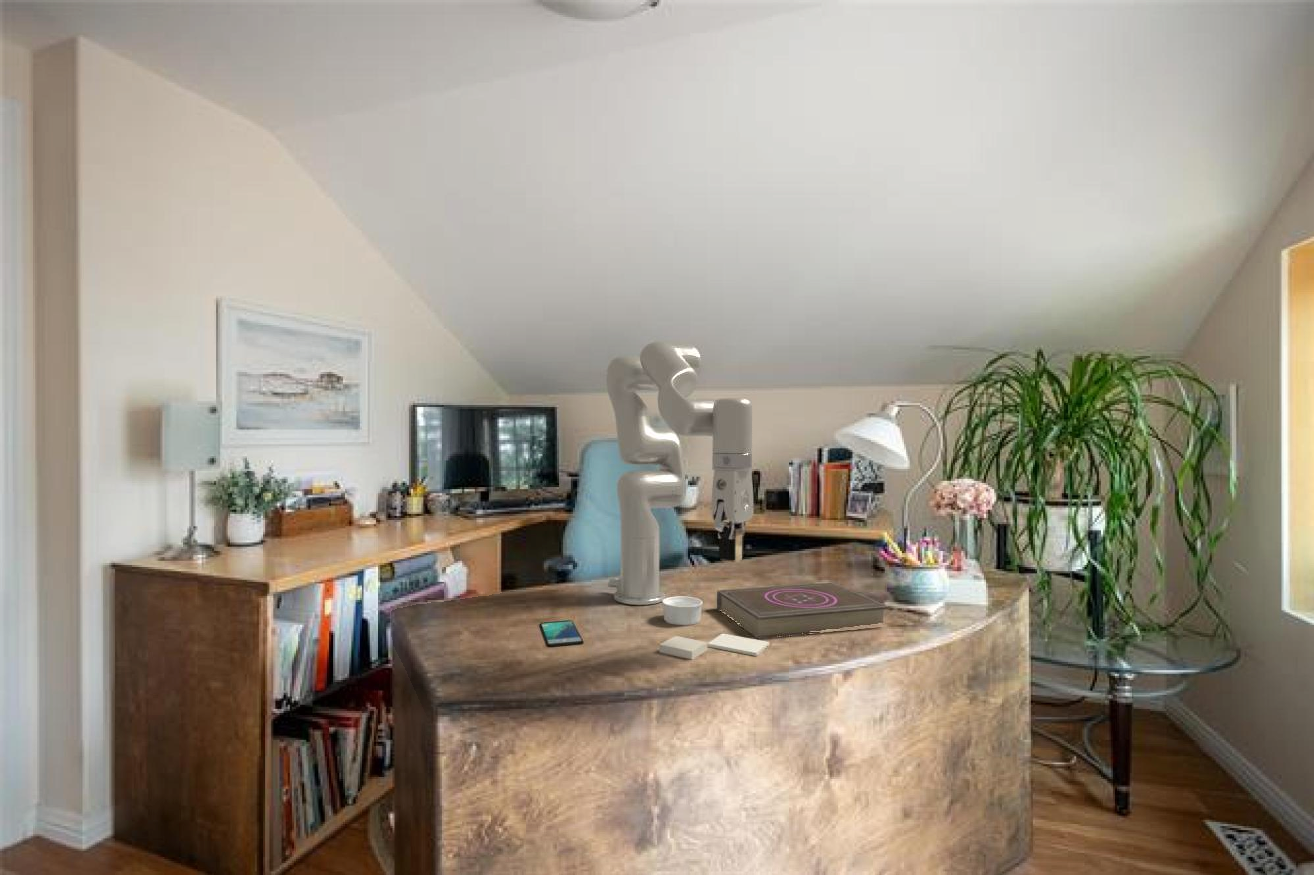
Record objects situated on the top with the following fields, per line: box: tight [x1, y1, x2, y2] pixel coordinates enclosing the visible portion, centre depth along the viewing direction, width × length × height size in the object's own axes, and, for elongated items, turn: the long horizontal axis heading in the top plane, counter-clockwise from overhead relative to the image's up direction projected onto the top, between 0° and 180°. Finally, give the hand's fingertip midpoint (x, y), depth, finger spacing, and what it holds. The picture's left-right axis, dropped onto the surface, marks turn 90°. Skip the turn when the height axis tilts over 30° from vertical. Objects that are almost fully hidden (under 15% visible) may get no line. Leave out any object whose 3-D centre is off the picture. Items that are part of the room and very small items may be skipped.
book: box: [716, 582, 890, 640], centre depth 142 cm, size 30×22×5 cm
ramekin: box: [661, 595, 704, 626], centre depth 139 cm, size 9×9×4 cm
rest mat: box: [707, 633, 770, 657], centre depth 123 cm, size 10×7×1 cm
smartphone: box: [539, 619, 585, 648], centre depth 129 cm, size 7×1×15 cm
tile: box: [658, 635, 708, 660], centre depth 120 cm, size 2×6×7 cm
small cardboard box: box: [720, 526, 743, 563], centre depth 122 cm, size 3×3×6 cm
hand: (731, 557), depth 122 cm, fingers closed on small cardboard box, 3 cm apart
